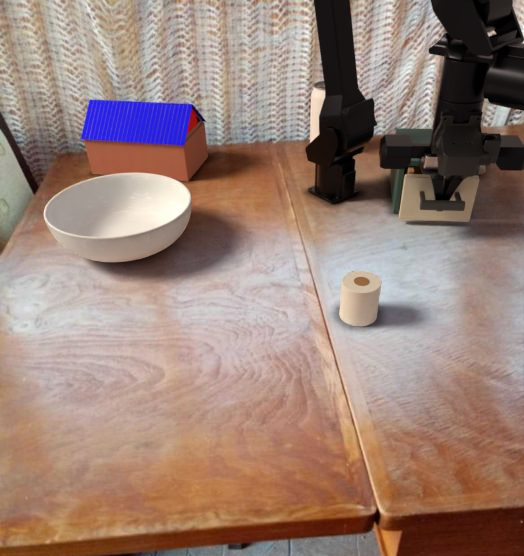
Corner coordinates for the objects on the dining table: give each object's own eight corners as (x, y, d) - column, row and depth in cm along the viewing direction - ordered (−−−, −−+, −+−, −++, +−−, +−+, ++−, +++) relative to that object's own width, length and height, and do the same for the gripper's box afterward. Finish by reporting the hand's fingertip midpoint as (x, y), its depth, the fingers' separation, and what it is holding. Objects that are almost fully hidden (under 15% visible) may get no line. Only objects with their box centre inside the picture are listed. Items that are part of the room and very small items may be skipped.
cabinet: (468, 215, 85) (481, 161, 79) (393, 213, 86) (400, 160, 80) (456, 178, 95) (467, 129, 89) (389, 177, 96) (395, 128, 90)
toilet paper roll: (331, 313, 67) (333, 279, 64) (358, 299, 69) (361, 265, 66) (357, 331, 64) (361, 297, 61) (384, 316, 66) (389, 282, 63)
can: (340, 156, 104) (345, 90, 96) (307, 155, 105) (309, 89, 97) (343, 144, 108) (348, 80, 100) (312, 143, 110) (313, 79, 102)
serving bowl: (173, 287, 73) (165, 242, 68) (31, 276, 76) (15, 232, 71) (211, 214, 88) (207, 173, 83) (91, 208, 91) (81, 168, 87)
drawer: (474, 237, 78) (485, 192, 73) (400, 234, 79) (407, 190, 75) (458, 186, 90) (466, 145, 86) (395, 184, 92) (400, 144, 87)
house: (189, 182, 98) (180, 115, 90) (89, 174, 102) (73, 110, 94) (210, 156, 106) (203, 93, 98) (117, 150, 110) (104, 89, 103)
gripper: (388, 117, 63) (375, 235, 74) (556, 118, 61) (518, 239, 71) (385, 90, 72) (373, 199, 82) (532, 89, 69) (501, 202, 80)
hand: (439, 210), depth 79 cm, fingers closed, pressing on drawer
